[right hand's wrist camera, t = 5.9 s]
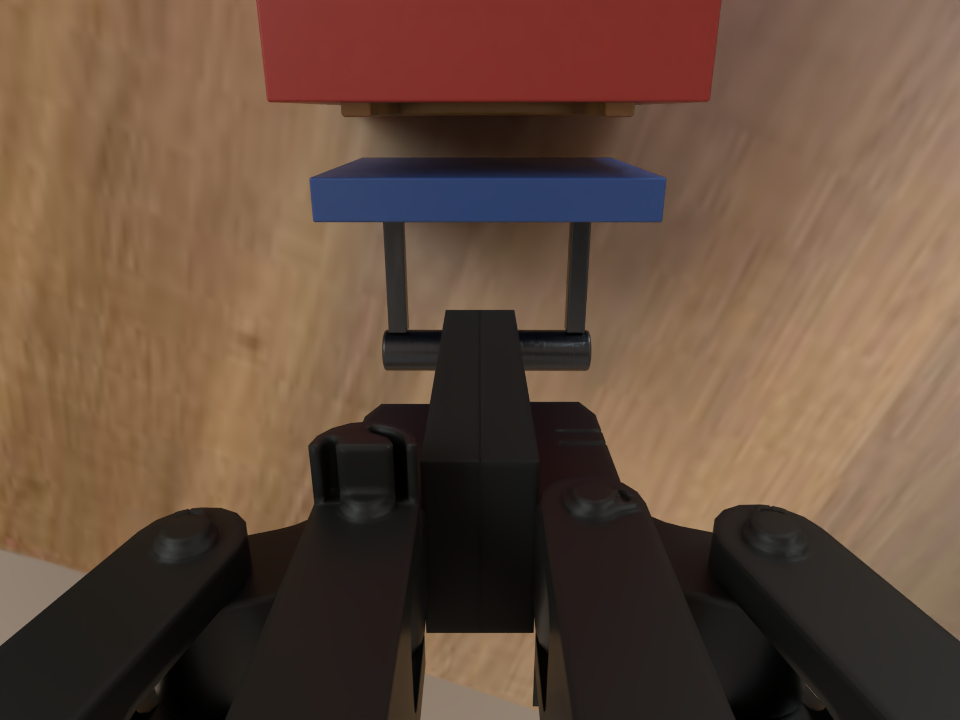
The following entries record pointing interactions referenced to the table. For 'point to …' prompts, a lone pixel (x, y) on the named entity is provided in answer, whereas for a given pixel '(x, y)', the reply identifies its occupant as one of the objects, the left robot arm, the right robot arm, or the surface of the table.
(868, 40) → the table surface
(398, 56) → the cabinet
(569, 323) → the drawer
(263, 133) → the table surface
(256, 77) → the table surface
